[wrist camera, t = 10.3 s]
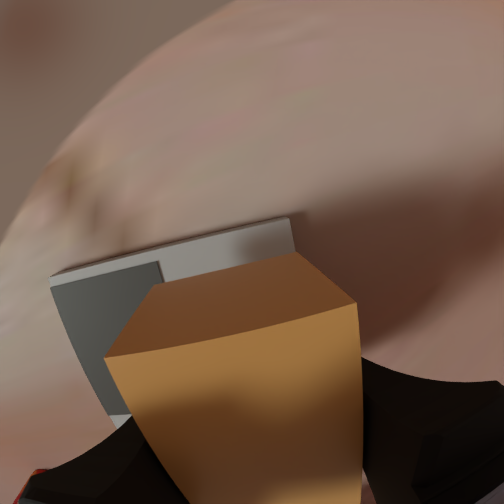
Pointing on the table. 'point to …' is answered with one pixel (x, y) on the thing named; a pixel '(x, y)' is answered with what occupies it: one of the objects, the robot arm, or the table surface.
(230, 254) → the board
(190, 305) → the block
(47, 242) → the table surface
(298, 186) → the table surface
